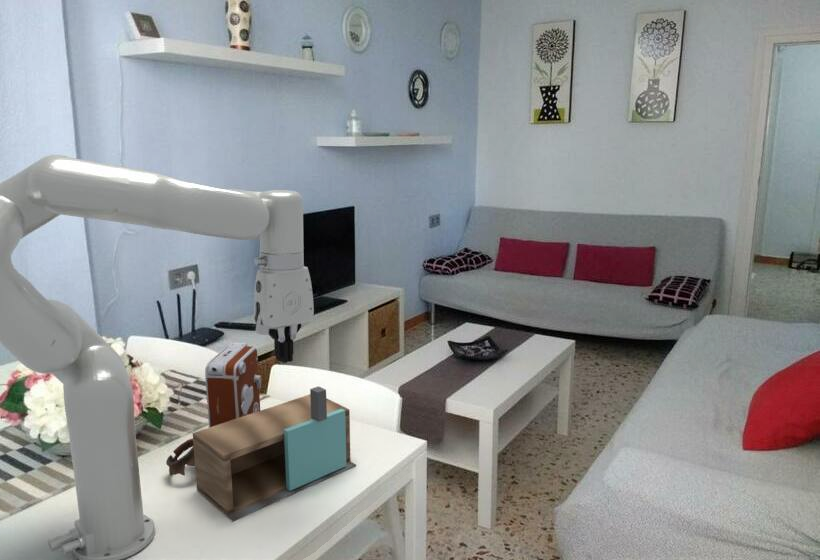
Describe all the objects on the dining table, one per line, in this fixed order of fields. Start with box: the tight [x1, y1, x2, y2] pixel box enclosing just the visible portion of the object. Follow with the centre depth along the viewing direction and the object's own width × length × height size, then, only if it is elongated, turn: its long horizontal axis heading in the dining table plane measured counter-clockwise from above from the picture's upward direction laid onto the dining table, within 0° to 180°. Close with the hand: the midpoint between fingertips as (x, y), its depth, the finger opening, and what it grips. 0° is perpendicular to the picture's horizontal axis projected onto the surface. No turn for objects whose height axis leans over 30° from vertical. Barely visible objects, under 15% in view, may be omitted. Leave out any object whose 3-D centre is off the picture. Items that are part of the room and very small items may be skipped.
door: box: [284, 385, 346, 491], centre depth 123 cm, size 14×2×18 cm, turn 134°
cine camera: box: [204, 342, 262, 428], centre depth 144 cm, size 9×19×20 cm, turn 174°
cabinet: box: [192, 394, 357, 522], centre depth 125 cm, size 28×14×12 cm, turn 134°
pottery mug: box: [165, 437, 195, 476], centre depth 128 cm, size 12×10×8 cm
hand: (284, 360), depth 115 cm, fingers closed
